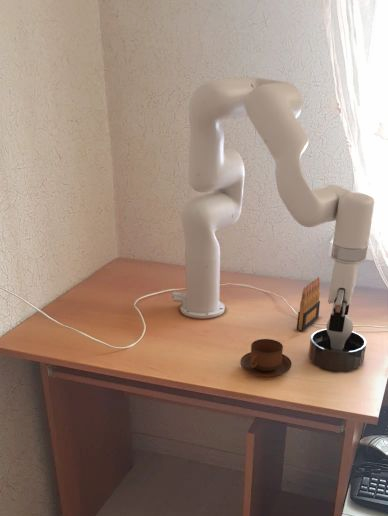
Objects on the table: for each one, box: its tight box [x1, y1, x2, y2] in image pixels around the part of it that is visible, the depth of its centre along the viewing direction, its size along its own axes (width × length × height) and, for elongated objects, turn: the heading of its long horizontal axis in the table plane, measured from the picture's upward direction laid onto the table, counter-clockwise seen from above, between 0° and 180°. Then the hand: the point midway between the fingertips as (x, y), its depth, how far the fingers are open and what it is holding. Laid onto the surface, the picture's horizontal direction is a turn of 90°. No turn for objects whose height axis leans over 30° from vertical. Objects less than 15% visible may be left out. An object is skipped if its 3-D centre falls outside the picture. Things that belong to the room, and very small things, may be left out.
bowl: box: [308, 328, 367, 373], centre depth 151 cm, size 13×13×6 cm
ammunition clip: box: [296, 276, 321, 332], centre depth 167 cm, size 11×2×12 cm, turn 148°
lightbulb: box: [325, 315, 354, 352], centre depth 149 cm, size 6×6×11 cm
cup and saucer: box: [239, 338, 292, 378], centre depth 147 cm, size 12×12×6 cm
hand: (338, 322), depth 147 cm, fingers open, 9 cm apart
